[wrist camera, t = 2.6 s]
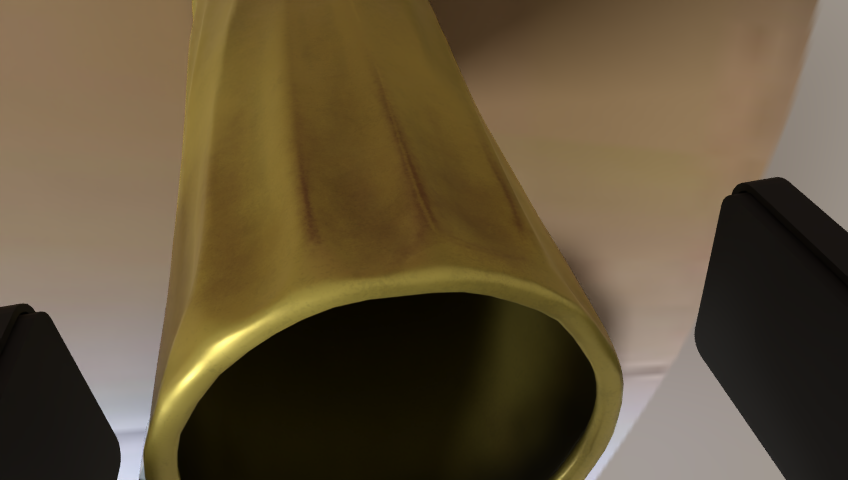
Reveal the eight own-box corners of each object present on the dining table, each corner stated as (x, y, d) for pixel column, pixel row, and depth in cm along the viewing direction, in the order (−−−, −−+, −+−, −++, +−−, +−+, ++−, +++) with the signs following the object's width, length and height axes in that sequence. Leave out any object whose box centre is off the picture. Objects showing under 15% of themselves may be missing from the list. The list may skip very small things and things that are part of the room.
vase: (427, -107, 17) (740, 204, 6) (418, 114, 21) (605, 563, 10) (174, -108, 16) (-3, 265, 5) (211, 125, 20) (156, 643, 9)
